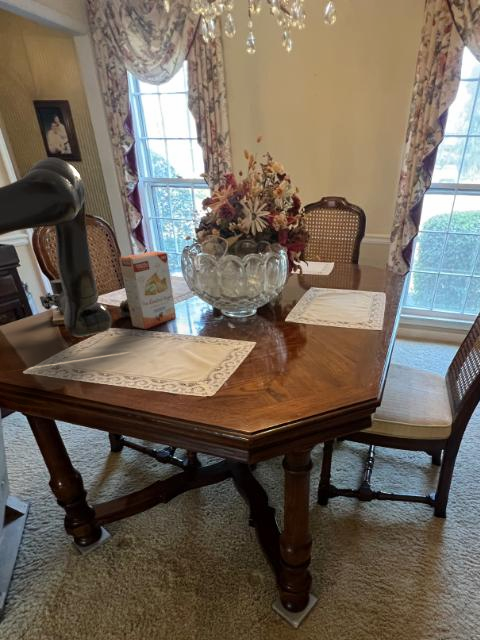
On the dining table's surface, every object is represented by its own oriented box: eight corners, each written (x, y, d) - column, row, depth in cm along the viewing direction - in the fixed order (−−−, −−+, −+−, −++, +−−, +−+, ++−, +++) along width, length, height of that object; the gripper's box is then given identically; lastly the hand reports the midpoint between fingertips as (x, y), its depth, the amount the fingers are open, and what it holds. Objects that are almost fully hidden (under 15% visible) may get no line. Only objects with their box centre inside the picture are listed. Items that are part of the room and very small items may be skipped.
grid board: (54, 325, 119) (52, 320, 119) (55, 315, 129) (54, 310, 128) (109, 318, 126) (108, 313, 125) (106, 309, 135) (105, 304, 134)
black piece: (59, 314, 124) (49, 283, 119) (59, 310, 128) (50, 280, 123) (76, 312, 126) (67, 281, 121) (76, 308, 130) (67, 278, 125)
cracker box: (146, 330, 116) (132, 258, 106) (132, 327, 118) (116, 256, 108) (177, 317, 127) (167, 251, 117) (164, 315, 129) (152, 250, 119)
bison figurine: (116, 318, 126) (109, 288, 121) (129, 312, 131) (123, 283, 126) (148, 322, 123) (142, 290, 118) (160, 315, 129) (155, 285, 124)
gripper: (99, 289, 109) (86, 279, 120) (42, 296, 101) (34, 285, 112) (105, 314, 113) (92, 302, 124) (50, 323, 105) (42, 309, 116)
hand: (64, 294), depth 118 cm, fingers open, 8 cm apart
